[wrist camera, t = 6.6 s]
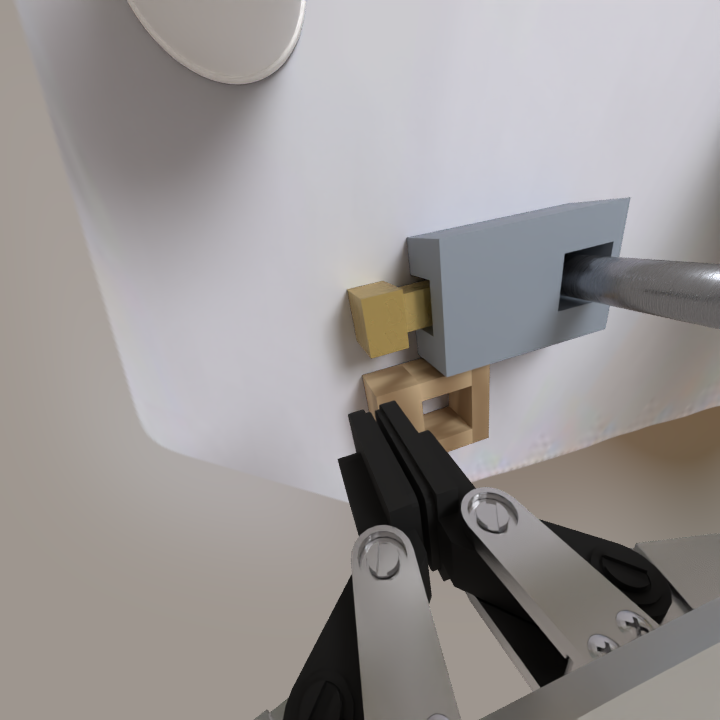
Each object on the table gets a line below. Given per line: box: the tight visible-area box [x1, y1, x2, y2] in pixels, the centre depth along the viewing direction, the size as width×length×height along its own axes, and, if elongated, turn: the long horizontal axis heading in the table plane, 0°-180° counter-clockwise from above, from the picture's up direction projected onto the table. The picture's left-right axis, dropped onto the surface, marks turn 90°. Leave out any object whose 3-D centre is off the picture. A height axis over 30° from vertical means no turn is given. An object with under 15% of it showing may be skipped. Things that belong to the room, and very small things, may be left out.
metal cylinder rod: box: [560, 253, 720, 329], centre depth 21 cm, size 3×3×14 cm
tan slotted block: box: [362, 358, 490, 452], centre depth 27 cm, size 10×8×4 cm
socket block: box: [407, 197, 630, 377], centre depth 24 cm, size 15×10×5 cm, turn 101°
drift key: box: [347, 280, 433, 358], centre depth 24 cm, size 13×4×4 cm, turn 101°
